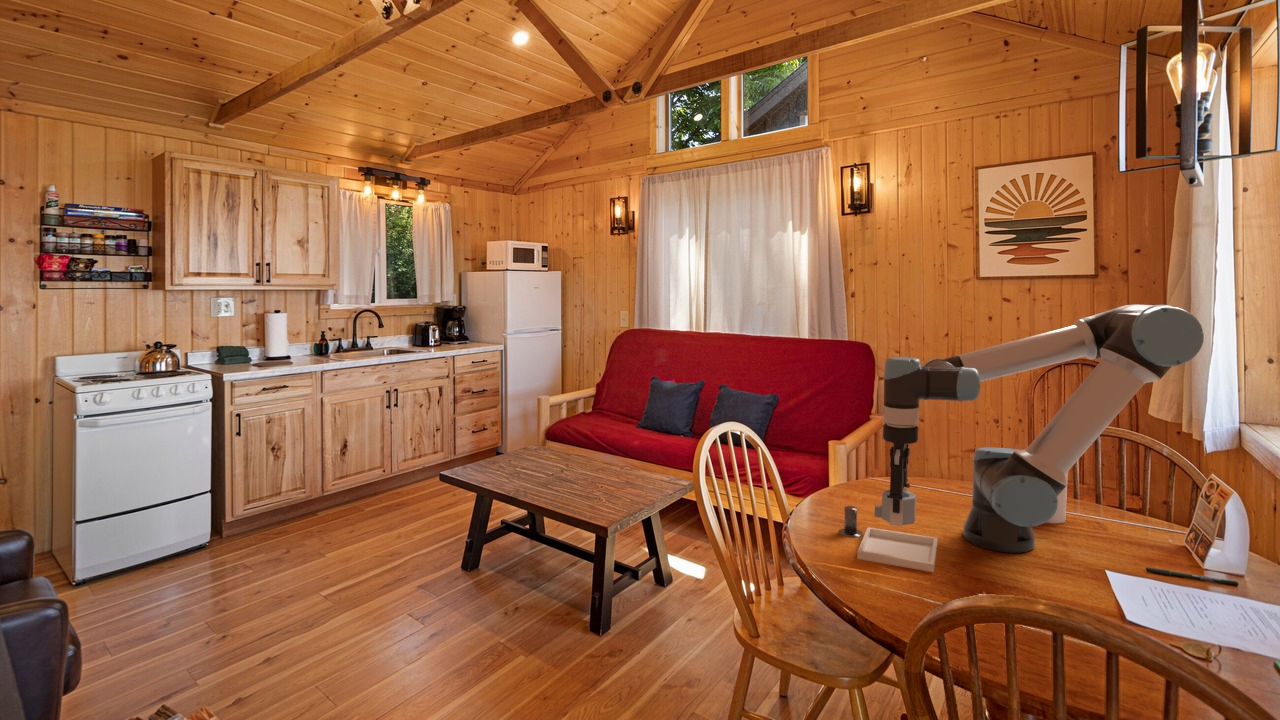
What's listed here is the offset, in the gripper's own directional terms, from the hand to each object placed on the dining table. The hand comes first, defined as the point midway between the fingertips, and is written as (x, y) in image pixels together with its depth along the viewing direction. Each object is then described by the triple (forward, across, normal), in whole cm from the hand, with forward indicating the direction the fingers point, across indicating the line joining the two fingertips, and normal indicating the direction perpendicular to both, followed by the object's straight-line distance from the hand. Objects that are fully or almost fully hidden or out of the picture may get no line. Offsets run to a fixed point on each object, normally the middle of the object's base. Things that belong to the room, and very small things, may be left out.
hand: (897, 519), depth 143 cm
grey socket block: (0, 0, 0) cm, 0 cm away
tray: (+8, 0, 0) cm, 8 cm away
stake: (+8, -7, -12) cm, 16 cm away
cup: (+8, -40, +33) cm, 53 cm away
